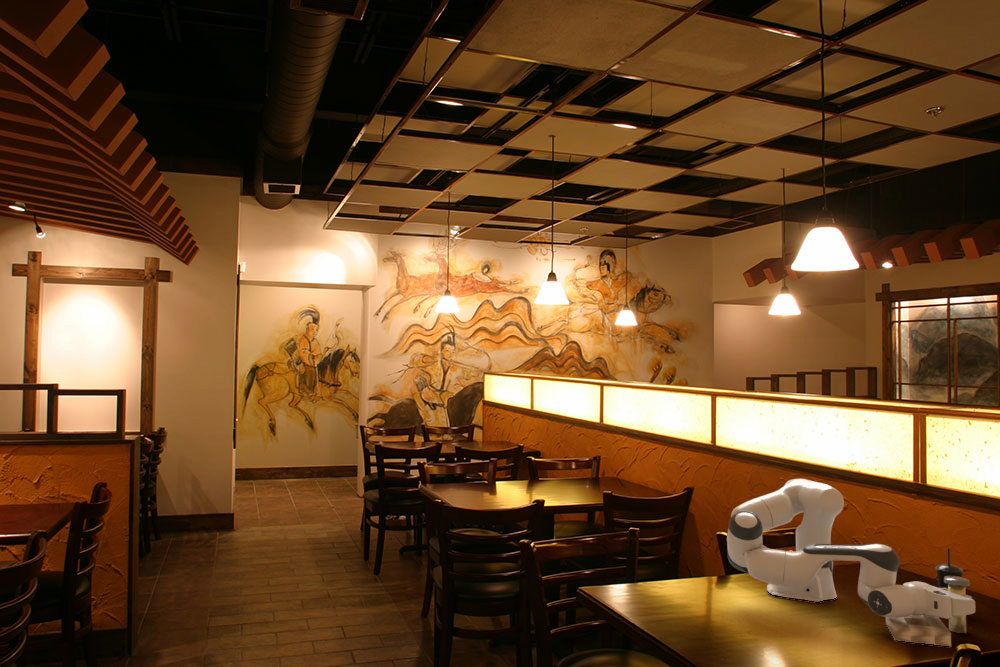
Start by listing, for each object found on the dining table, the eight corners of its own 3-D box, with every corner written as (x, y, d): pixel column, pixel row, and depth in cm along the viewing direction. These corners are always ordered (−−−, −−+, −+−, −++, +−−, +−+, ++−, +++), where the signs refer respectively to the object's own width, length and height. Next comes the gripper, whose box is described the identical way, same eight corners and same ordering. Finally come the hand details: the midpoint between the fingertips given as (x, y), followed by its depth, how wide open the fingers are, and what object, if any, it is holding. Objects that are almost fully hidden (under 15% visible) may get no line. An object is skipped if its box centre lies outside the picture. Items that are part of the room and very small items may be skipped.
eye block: (894, 641, 204) (894, 626, 204) (885, 625, 217) (885, 611, 217) (951, 647, 199) (950, 632, 199) (938, 630, 212) (938, 616, 213)
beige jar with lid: (948, 633, 210) (947, 581, 211) (942, 625, 216) (941, 575, 217) (973, 636, 208) (972, 583, 209) (966, 628, 214) (965, 577, 215)
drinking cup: (964, 617, 224) (962, 552, 225) (936, 612, 228) (934, 549, 230) (964, 610, 231) (962, 547, 232) (936, 606, 235) (934, 544, 236)
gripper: (893, 598, 219) (929, 595, 223) (952, 621, 199) (990, 616, 203) (893, 577, 219) (928, 574, 223) (951, 598, 200) (989, 594, 203)
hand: (958, 594), depth 213 cm, fingers open, 6 cm apart
